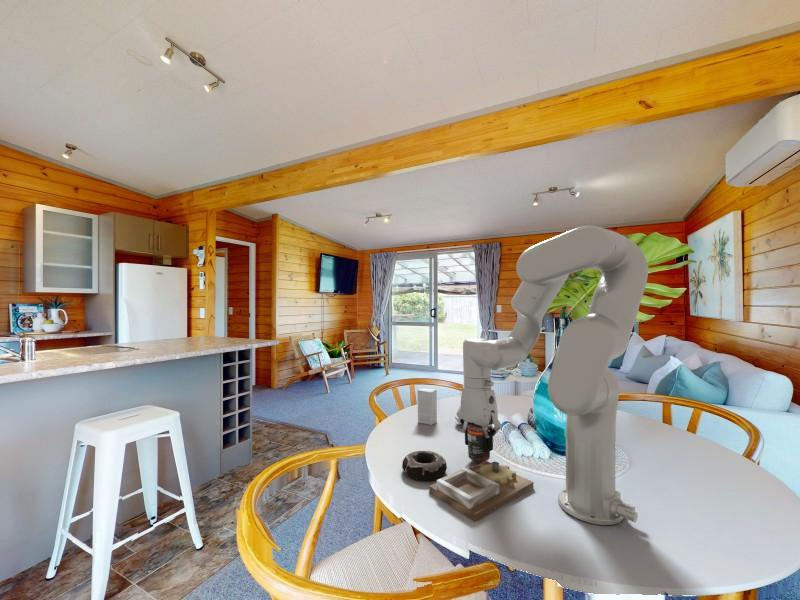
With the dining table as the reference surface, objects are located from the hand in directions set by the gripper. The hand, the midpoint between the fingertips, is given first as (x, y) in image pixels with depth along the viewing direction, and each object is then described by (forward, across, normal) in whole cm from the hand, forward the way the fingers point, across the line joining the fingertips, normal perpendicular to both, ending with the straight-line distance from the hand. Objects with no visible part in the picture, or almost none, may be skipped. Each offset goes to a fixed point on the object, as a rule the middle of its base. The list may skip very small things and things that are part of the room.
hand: (478, 446), depth 100 cm
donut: (+4, +5, +16) cm, 17 cm away
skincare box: (+4, +33, -10) cm, 34 cm away
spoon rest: (+4, +25, -25) cm, 36 cm away
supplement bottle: (+3, 0, 0) cm, 3 cm away
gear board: (+4, -10, +11) cm, 16 cm away
